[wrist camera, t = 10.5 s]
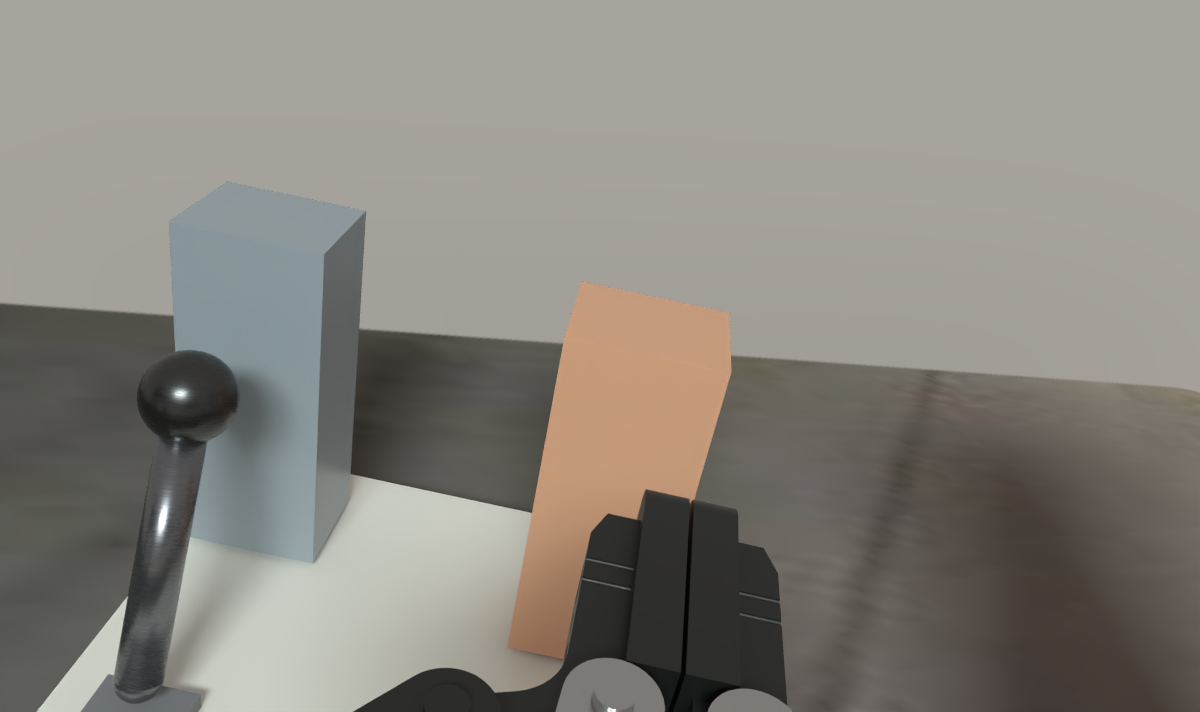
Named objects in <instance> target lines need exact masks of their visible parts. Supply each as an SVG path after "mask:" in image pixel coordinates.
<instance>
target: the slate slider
mask: <svg viewBox="0 0 1200 712" xmlns="http://www.w3.org/2000/svg"><path fill="white" fill-rule="evenodd" d="M365 220H366V211H364V210H359V209H354V208H350V207H345V206H340V205H335V204H331V203H326V202H321V201H317V200H312V199H307V198H303V197H298V196H293V195H288V194H284V193H279V192H274V191H269V190H265V189H260V188H255V187H251V186H246V185H241V184H236V183H232V182H226V183H224V184H223V185H221V186H220V187H218V188H217V189H215V190H214V191H213V192H211V193H209V194H208V195H207V196H205V197H204V198H202V199H201V200H199V201H198V202H196V203H195V204H193V205H192V206H190V207H189V208H187V209H186V210H184V211H183V212H182V213H180V214H178V215H177V216H176V217H174V218H173V219H171V220H170V221H169V237H170V256H171V276H172V295H173V314H174V333H175V352H176V351H182V350H198V351H203V352H206V353H209V354H212V355H214V356H216V357H217V358H219V359H221V360H222V361H223V362H224V363H226V364H227V365H228V367H229V368H230V369H231V370H232V372H233V373H234V375H235V377H236V379H237V381H238V384H239V388H240V405H239V409H238V411H237V414H236V416H235V418H234V420H233V422H232V423H231V424H230V425H229V427H228V428H227V429H226V430H225V431H224V432H222V433H221V434H220V435H218V436H217V437H215V438H213V439H211V440H208V441H207V447H206V452H205V458H204V463H203V469H202V474H201V480H200V485H199V491H198V496H197V502H196V507H195V513H194V518H193V524H192V529H191V535H190V537H192V538H196V539H201V540H206V541H210V542H215V543H220V544H224V545H229V546H233V547H238V548H243V549H247V550H252V551H257V552H261V553H266V554H271V555H275V556H280V557H284V558H289V559H294V560H298V561H303V562H308V563H312V564H313V562H314V560H315V559H316V557H317V555H318V553H319V552H320V550H321V548H322V546H323V545H324V543H325V541H326V539H327V537H328V536H329V534H330V532H331V530H332V529H333V527H334V525H335V523H336V522H337V520H338V518H339V516H340V514H341V513H342V511H343V509H344V507H345V506H346V504H347V502H348V500H349V489H350V472H351V455H352V439H353V422H354V405H355V388H356V371H357V355H358V338H359V321H360V303H361V287H362V270H363V269H362V268H363V253H364V235H365Z"/></svg>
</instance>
